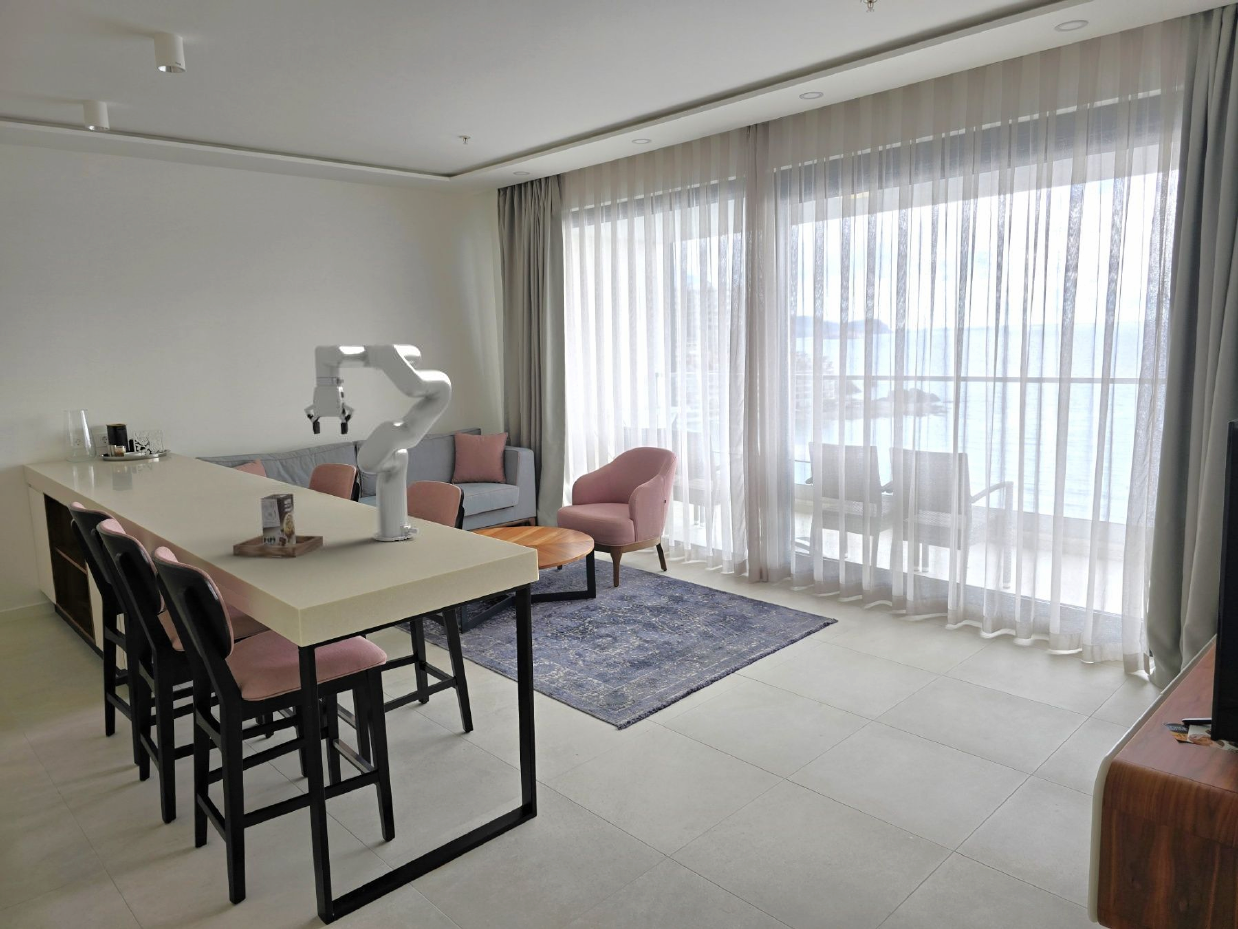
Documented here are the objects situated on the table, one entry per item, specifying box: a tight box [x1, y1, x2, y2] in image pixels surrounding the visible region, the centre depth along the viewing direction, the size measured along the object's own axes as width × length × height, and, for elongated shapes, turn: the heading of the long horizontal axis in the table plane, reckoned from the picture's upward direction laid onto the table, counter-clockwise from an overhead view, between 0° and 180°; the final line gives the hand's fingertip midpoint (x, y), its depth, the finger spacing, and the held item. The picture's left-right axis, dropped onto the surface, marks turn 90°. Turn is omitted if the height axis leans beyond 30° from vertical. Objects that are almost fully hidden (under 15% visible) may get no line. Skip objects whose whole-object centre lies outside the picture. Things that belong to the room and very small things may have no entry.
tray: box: [232, 534, 324, 558], centre depth 250 cm, size 20×16×3 cm
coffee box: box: [260, 493, 296, 547], centre depth 249 cm, size 9×6×16 cm
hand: (330, 433), depth 274 cm, fingers open, 9 cm apart
